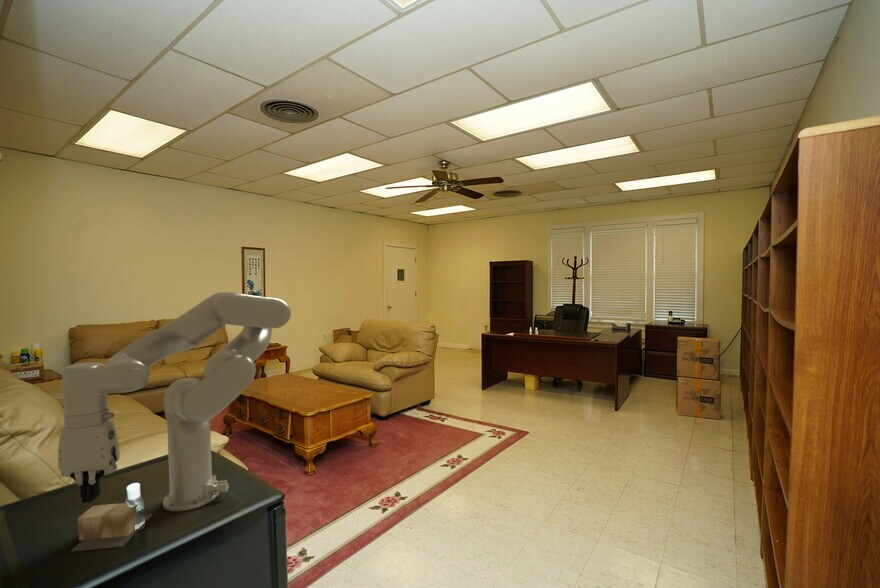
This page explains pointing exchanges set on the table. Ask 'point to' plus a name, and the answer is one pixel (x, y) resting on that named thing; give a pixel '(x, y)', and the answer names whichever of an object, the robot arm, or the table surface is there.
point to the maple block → (107, 521)
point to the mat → (105, 541)
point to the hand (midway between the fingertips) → (90, 499)
